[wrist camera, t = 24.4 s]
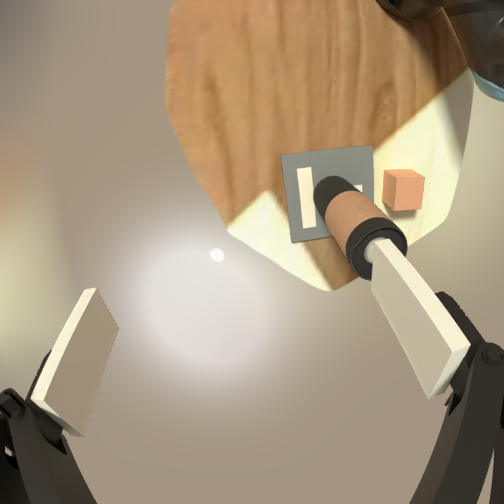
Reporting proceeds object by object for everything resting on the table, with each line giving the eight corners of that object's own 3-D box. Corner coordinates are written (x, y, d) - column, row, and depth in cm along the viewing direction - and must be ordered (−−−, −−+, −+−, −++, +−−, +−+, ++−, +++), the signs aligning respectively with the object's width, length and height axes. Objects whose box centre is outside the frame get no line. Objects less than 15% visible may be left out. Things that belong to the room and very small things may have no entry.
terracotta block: (410, 169, 48) (424, 177, 44) (407, 198, 51) (421, 209, 47) (383, 169, 48) (396, 177, 44) (381, 200, 51) (393, 211, 47)
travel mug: (360, 194, 49) (418, 252, 32) (330, 223, 52) (372, 292, 35) (334, 164, 46) (389, 211, 29) (301, 195, 49) (338, 258, 32)
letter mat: (371, 145, 45) (372, 146, 45) (371, 227, 54) (373, 229, 53) (280, 155, 46) (280, 156, 45) (291, 241, 54) (291, 242, 54)
